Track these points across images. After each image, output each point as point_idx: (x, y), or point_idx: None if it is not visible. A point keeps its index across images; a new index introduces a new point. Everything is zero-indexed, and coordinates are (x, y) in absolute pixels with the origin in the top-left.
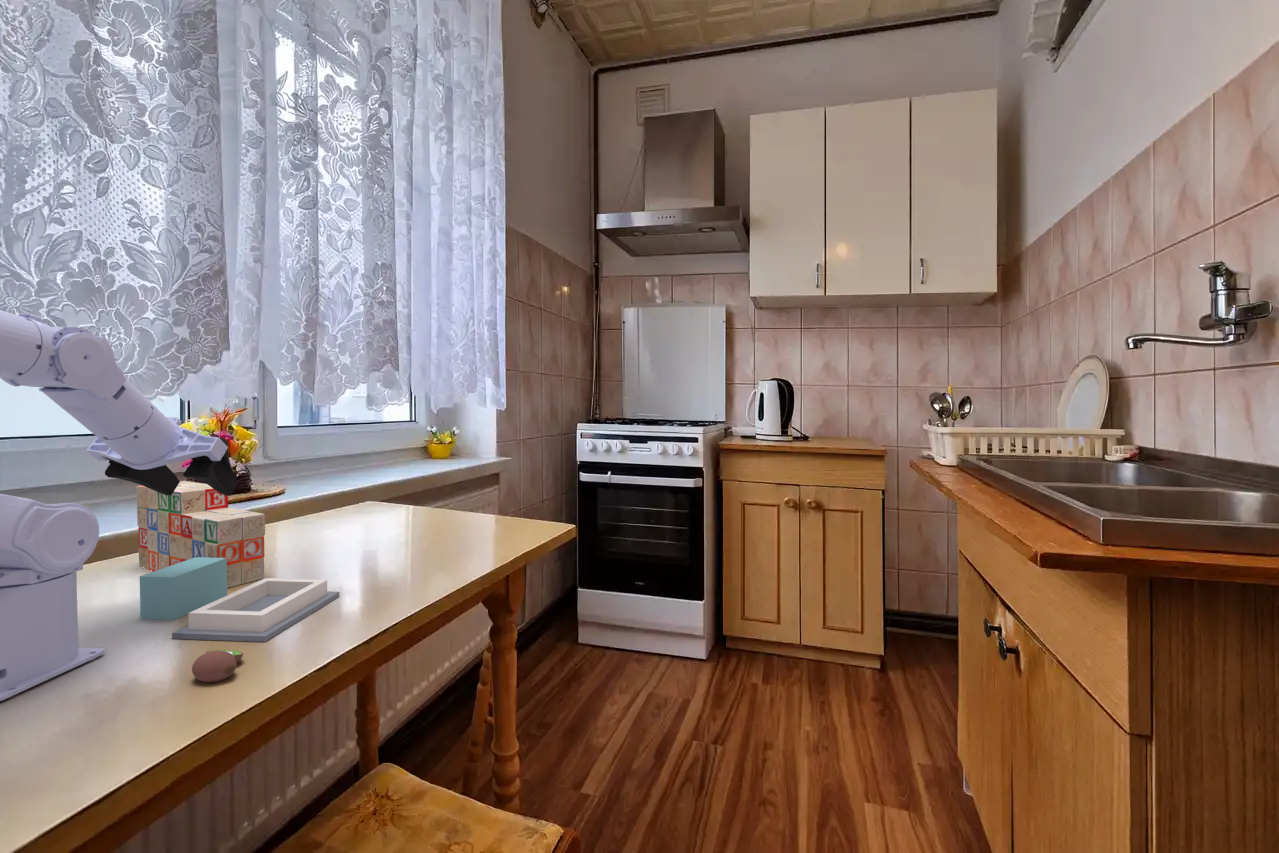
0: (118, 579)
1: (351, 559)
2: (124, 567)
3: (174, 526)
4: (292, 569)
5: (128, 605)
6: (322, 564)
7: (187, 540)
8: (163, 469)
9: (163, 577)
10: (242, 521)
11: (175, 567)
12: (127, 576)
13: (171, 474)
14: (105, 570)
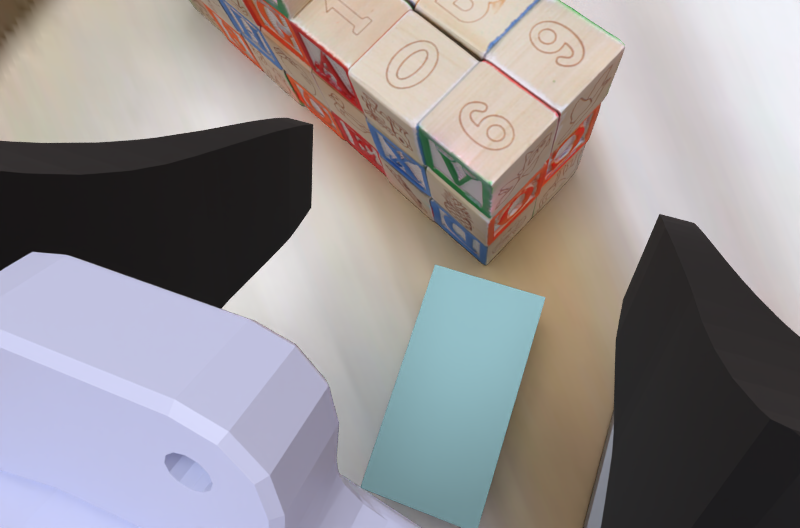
0: (191, 114)
1: (780, 2)
2: (163, 11)
3: (271, 22)
4: (624, 87)
5: (306, 348)
6: (701, 46)
7: (344, 101)
8: (227, 178)
9: (440, 518)
10: (559, 122)
11: (426, 394)
12: (201, 91)
13: (271, 149)
14: (131, 32)
